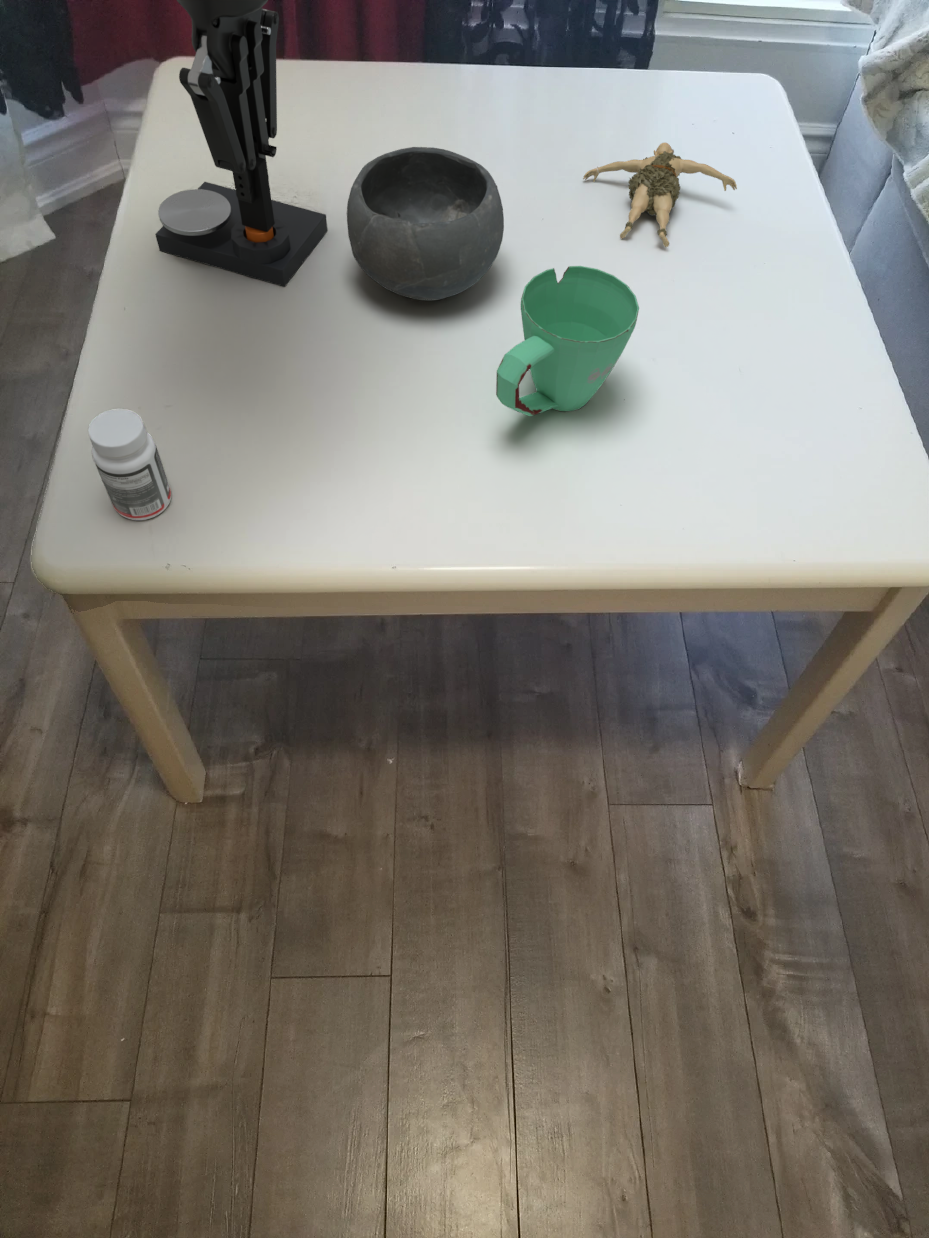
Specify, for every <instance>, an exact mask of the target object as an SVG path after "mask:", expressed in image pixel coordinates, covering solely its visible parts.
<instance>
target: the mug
mask: <svg viewBox="0 0 929 1238" xmlns="http://www.w3.org/2000/svg"><path fill="white" fill-rule="evenodd" d="M520 297H521V298H520V315H521V322H522V332H523V338H524V340H523V341H521V342H520V343H518V344H516V345H514V346H513V348H511V349H510V350H509V351H507V352H506V353H505V354H504V355H503V357H502V359H501V361H500V363H499V365H498V367H497V368H496V369H497V370H496V387H495V395H496V398H497V399H498V400H499V402H500V403H501V404H502V405H504V407H507V408H508V409H511V410H513V411H515V412H518V413H520V414H523V415H526V416H528V417H533V416H536V415H538V414H540V413H544V412H547V411H549V410H551V409H553V410H555V411H560V412H574V411H577V410H580V409H581V408H583V407H584V406H586V404H588V403H589V401H590V400H591V399H592V398H593V396H594V395H595V394H596V393H597V392H598V390H599V389H600V388H601V386H602V385H603V384H604V382H605V381H606V379H608V378H607V377H608V376H609V375H610V374H611V372H612V370H613V369H614V368H615V366H616V364H617V362H618V361H619V359H620V358H621V356H622V354H623V353H624V350H625V349H626V347H627V344H628V343H629V340H630V338H631V337H632V334H633V332H634V331H635V328H636V325H637V321H638V316H639V311H640V306H639V303H638V299H637V296H636V294H635V293H634V292H633V291H632V289H631V288H630V287H629V286H628V284H627V283H625V282H624V281H622V280H621V279H620V278H618V277H616V275H614V274H611V273H609V272H606V271H605V270H602V269H600V268H594V267H590V266H589V267H588V266H584V265H569V266H567V268H566V269H565V270H564V272H563V275H562V277H561V279H560V280H558V279H557V273H556V270H555V267H553V268H548V269H546V270H543V271H541V272H540V273H538V274H536V275H534V276H533V277H532V278H531V279H530V280H529V281H528V282H527V283H526V285H524V288H523V291H522V294H521V296H520ZM529 371H530V375H531V379H532V382H533V384H534V388H535V390H536V391H534V392H532V393H529V394H526V395H524V396H521V397H520V385H521V383H522V381H523V379H524V377H525V376H526V374H527V373H528V372H529Z"/></svg>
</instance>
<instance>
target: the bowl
mask: <svg viewBox="0 0 929 1238" xmlns="http://www.w3.org/2000/svg"><path fill="white" fill-rule="evenodd" d="M346 222H347V223H346V224H347V235H348V239H349V244H350V249H351V251H352V252H351V253H352V255H353V258H354V260H355V261H356V263H357V264H358V265H359V267H360V268H361V269H362V271H363V272H364V273H365V274H366V275H367V276H369V277H370V278H371V279H372V280H373V281H374V282H376V283H377V284H379V285H380V286H381V287H383V288H385V289H386V290H388V291H391V292H392V293H395V294H397V295H399V296H402V297H405V298H410V299H413V300H417V301H418V300H419V301H438V300H443V299H445V298H446V299H447V298H449V297H453V296H455V295H458V294H460V293H462V292H464V291H466V290H468V289H469V288H471V287H472V286H474V285H475V284H476V283H477V282H479V281H480V280H481V278H483V276H485V274H487V272H488V271H489V269H491V267H492V265H493V263H494V262H495V260H496V258H497V257H498V254H499V251H500V250H501V246H502V242H503V238H504V230H505V219H504V207H503V203H502V198H501V195H500V192H499V188H498V186H497V183H496V181H495V180H494V178H493V175H492V174H491V173H490V172H489V171H488V169H486V168H485V167H484V166H483V165H482V164H480V163H478V162H476V161H475V160H473V159H470V158H469V157H467V156H464V155H461V154H459V153H456V152H454V151H451V150H448V149H444V148H438V147H428V146H410V147H404V148H400V149H396V150H393V151H389V152H386V153H383V154H381V155H379V156H377V157H375V158H373V159H372V160H370V161H368V162H367V163H366V164H365V165H364V166H363V167H362V168H361V170H360V171H359V172H358V174H357V175H356V178H355V179H354V181H353V184H352V186H351V187H350V191H349V195H348V199H347V205H346Z"/></svg>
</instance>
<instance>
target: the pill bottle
mask: <svg viewBox="0 0 929 1238" xmlns="http://www.w3.org/2000/svg"><path fill="white" fill-rule="evenodd" d="M87 429H88V430H87V434H88V437H89V440H90V444H91V456H92V459H93V462H94V464H95V467H96V469H97V471H98V474H99V476H100V478H101V479H100V480H101V482H102V483H103V486H104V488H105V490H106V493H107V495H108V498H109V500H110V502H111V505H112V507H113V509H114V511H116V513H118V514H119V515H120V516H121V517H124V518H126V519H128V520H132V521H145V520H149V519H152V518H155V517H157V516H158V515H160V514H161V513H163V512H164V511H165V510H166V509H167V508H168V506H169V504H170V503H171V500H172V490H171V485H170V483H169V479H168V477H167V474H166V471H165V468H164V464H163V462H162V459H161V456H160V453H159V450H158V447H157V444H156V441H155V439H154V437H153V436H152V435H151V434H150V433H149V432H148V431H147V427H146V426H145V423H144V421H143V419H142V417H141V415H139V414H138V413H137V412H135V411H134V410H131V409H127V408H113V409H108V410H104V411H102V412H100V413H98V414H97V415H96V416H95V417H94V418H93V419H92V420H91V421H90V423H89V425H88V428H87Z"/></svg>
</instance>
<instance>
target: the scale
mask: <svg viewBox="0 0 929 1238" xmlns="http://www.w3.org/2000/svg"><path fill="white" fill-rule="evenodd" d="M197 189H203V190H210V191H213V192H216V193H219V194H221V195H222V196H224V197H225V198H226V199H227V200H228V201H229V203H230V206H231V211H232V214H231V218H230V220H229V221H228V223H227V224H226V225H225V226H224V227H222V228H221V229H219V230H217V231H215V232H212V233H209V234H205V235H197V236H188V235H181V234H177V233H174V232H172V231H170V230H168V229H167V228H165V227H164V226H163V225H162V226H161V227H160V228H159V229H158V230H157V231H156V233H155V235H154V236H155V239H156V243H157V246H158V250H159V251H160V252H162V253H166V254H170V255H173V256H176V257H180V258H184V259H187V260H191V261H194V262H198V263H201V264H205V265H208V266H212V267H216V268H218V269H221V270H225V271H229V272H232V273H236V274H240V275H241V276H242V275H243V276H246V277H249V278H253V279H256V280H260V281H264V282H267V283H270V284H274V285H278V286H280V287H286V286H287V285H288V283H289V282H290V281H291V279H292V278H293V277H294V275H295V274H296V273H297V272H298V270H299V269H300V268H301V267H302V265H303V264H304V262H305V261H306V260H307V258H308V257H309V256H310V254H311V253H312V252H313V250H314V249H315V248H316V247H317V245H318V244H319V243H320V241H321V240H322V239H323V237H324V236H325V235H326V233H327V232H328V221H327V214H325V213H322V212H319V211H316V210H315V211H314V210H312V209H307V208H304V207H300V206H296V205H293V204H289V203H285V202H281V201H278V200H274V199H271V201H272V208H273V215H274V223H275V224H274V225H273V226H272V227H273V234H274V237H273V239H271V240H269V241H266V242H252V241H249V240H247V235H246V229H245V226H244V225H242V220H241V214H240V208H239V202H238V198H237V196H236V189H234V188H230V187H226V186H223V185H218V184H215V183H212V182H209V181H203V183H202V184H200V186H199V187H198V188H197Z"/></svg>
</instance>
